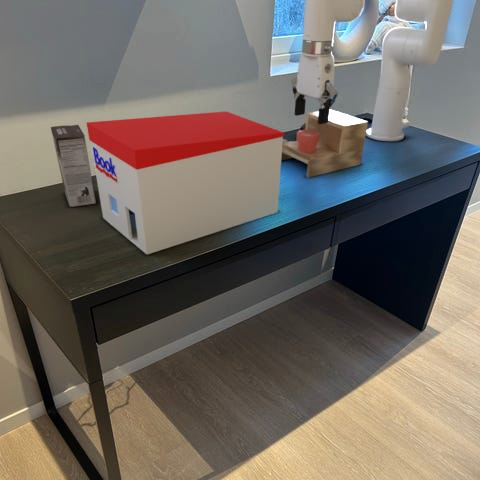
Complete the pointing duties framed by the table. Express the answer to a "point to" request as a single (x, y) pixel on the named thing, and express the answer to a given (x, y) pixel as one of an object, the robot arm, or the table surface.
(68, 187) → the coffee box
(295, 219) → the table surface
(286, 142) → the soldier figure
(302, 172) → the table surface
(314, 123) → the wooden step block
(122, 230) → the bookstore
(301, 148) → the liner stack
